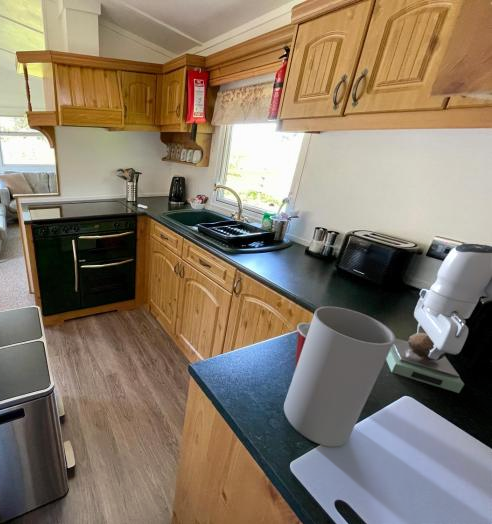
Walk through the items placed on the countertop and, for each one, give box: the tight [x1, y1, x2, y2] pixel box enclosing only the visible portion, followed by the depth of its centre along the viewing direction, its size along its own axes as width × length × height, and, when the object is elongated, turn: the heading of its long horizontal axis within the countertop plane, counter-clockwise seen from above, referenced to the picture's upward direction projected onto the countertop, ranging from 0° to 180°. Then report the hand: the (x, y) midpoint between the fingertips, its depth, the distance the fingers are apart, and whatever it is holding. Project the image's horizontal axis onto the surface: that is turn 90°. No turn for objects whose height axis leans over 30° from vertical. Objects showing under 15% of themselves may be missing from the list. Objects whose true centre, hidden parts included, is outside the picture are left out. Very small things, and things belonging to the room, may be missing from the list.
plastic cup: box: [295, 322, 311, 368], centre depth 76 cm, size 11×11×12 cm
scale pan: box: [392, 337, 460, 378], centre depth 81 cm, size 12×12×1 cm
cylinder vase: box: [283, 306, 396, 447], centre depth 58 cm, size 12×12×25 cm
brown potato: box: [407, 333, 446, 360], centre depth 80 cm, size 8×8×6 cm
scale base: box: [385, 346, 465, 394], centre depth 82 cm, size 14×14×4 cm
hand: (425, 347), depth 80 cm, fingers open, 8 cm apart
